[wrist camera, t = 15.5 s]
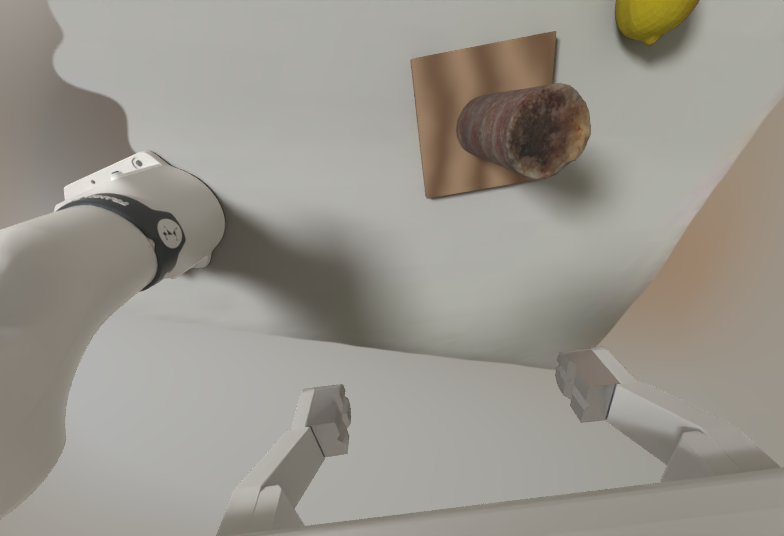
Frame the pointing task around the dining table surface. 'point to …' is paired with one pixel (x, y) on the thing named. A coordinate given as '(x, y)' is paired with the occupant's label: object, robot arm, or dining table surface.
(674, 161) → the dining table surface
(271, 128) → the dining table surface
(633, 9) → the lemon
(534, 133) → the wooden log
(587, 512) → the robot arm
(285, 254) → the dining table surface
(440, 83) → the walnut board
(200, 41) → the dining table surface
